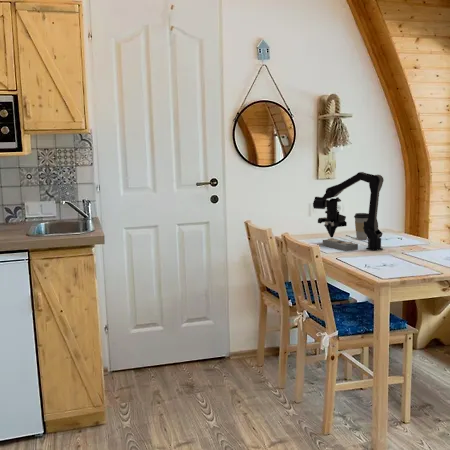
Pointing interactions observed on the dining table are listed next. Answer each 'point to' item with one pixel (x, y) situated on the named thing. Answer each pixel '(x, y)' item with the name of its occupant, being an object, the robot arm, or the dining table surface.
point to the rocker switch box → (340, 245)
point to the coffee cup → (360, 225)
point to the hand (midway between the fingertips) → (331, 237)
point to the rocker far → (333, 240)
